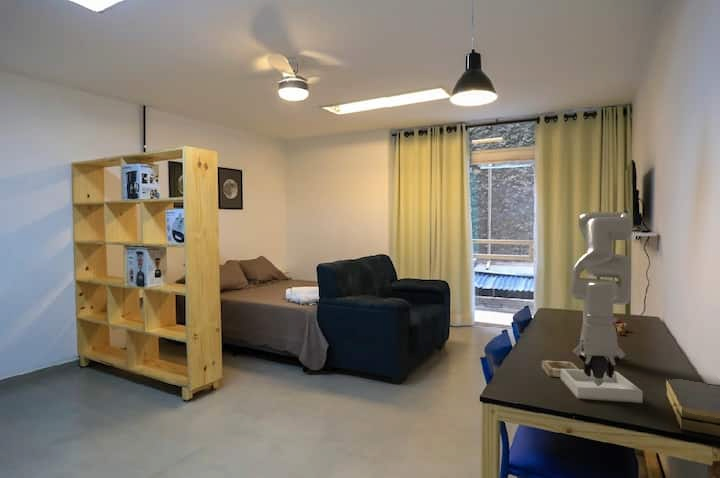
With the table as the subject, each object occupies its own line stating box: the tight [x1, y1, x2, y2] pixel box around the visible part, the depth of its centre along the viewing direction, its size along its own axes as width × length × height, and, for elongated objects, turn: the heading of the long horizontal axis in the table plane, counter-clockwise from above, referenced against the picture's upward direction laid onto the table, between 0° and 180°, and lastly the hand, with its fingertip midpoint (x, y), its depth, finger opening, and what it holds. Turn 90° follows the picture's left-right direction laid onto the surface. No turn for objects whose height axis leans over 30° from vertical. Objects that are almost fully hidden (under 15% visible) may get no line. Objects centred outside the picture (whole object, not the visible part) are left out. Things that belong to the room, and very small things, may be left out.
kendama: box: [613, 318, 627, 336], centre depth 218 cm, size 8×6×18 cm
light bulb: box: [590, 356, 609, 386], centre depth 137 cm, size 6×6×10 cm
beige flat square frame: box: [541, 359, 580, 378], centre depth 153 cm, size 10×10×2 cm
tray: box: [559, 368, 644, 404], centre depth 136 cm, size 18×18×4 cm
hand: (598, 375), depth 137 cm, fingers open, 5 cm apart
